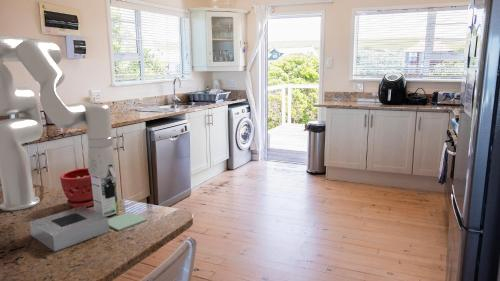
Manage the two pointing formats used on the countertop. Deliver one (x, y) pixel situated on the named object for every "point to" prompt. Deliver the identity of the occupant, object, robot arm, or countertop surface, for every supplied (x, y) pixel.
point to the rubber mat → (125, 221)
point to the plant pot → (78, 188)
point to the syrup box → (103, 197)
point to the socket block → (69, 227)
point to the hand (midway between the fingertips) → (104, 194)
